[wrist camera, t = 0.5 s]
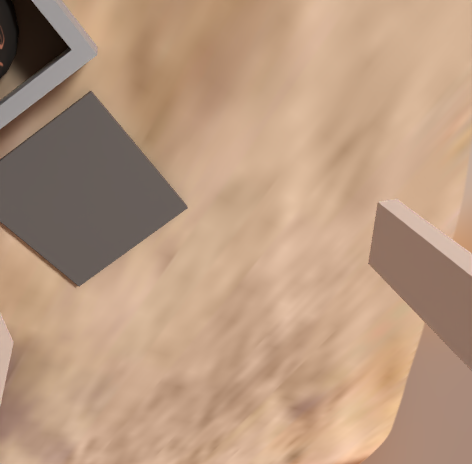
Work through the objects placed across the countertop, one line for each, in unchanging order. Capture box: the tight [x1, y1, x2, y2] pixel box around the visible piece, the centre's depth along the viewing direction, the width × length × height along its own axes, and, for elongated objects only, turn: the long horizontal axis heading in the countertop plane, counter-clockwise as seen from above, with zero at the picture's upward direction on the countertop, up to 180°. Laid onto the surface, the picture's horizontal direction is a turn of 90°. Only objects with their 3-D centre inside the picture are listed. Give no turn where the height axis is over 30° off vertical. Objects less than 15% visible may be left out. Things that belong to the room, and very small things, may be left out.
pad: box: [0, 91, 188, 286], centre depth 40 cm, size 14×14×1 cm
